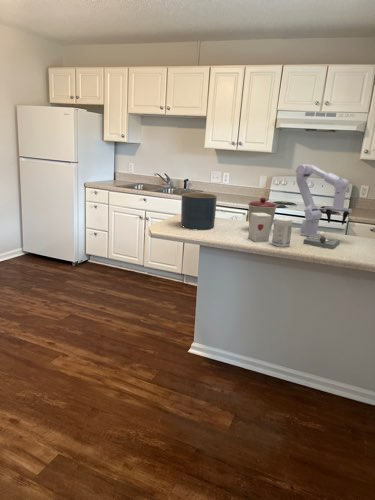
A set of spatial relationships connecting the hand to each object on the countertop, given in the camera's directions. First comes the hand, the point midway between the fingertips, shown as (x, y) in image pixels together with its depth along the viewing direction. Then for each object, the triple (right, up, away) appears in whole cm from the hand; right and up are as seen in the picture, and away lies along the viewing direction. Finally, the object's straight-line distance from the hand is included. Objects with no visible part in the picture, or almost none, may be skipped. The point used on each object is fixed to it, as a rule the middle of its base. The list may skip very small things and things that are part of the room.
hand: (335, 223), depth 215 cm
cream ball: (-8, -6, -1) cm, 11 cm away
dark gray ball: (-12, -10, -13) cm, 20 cm away
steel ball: (-8, -11, -7) cm, 16 cm away
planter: (-80, 0, +23) cm, 83 cm away
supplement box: (-46, -10, -3) cm, 47 cm away
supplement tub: (-35, -13, -12) cm, 39 cm away
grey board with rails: (-10, -12, -6) cm, 17 cm away
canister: (-40, -3, +20) cm, 45 cm away
